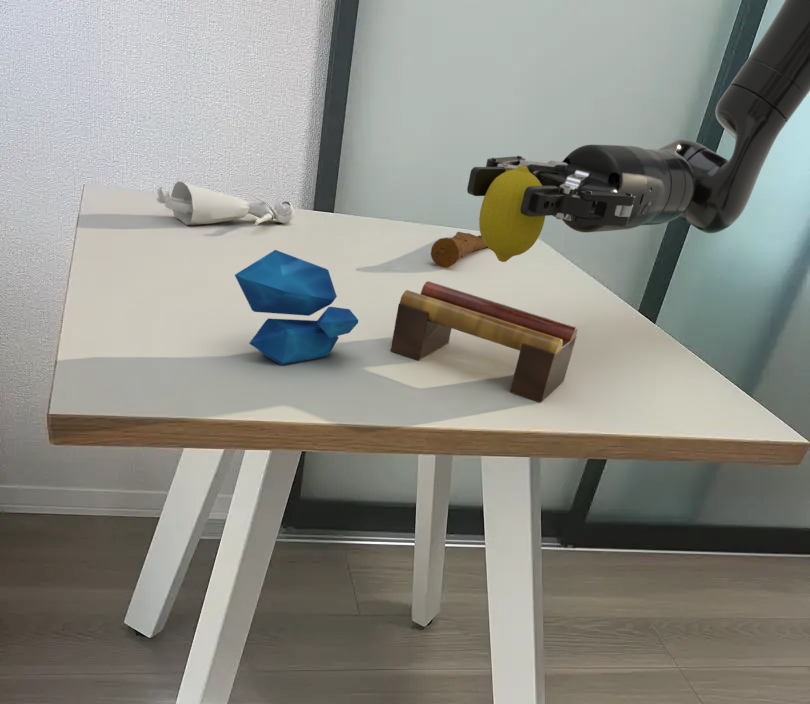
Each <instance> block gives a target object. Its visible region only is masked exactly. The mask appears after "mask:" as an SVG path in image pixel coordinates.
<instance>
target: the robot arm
mask: <svg viewBox="0 0 810 704" xmlns="http://www.w3.org/2000/svg"><path fill="white" fill-rule="evenodd" d="M809 93H810V0H784V2H783V3H782V5H781V7H780V9H779V11H778V12H777V14H776V15H775V16H774V19H773V20H772V21H771V24H770V25H769V26H768V28H767V30H766V32H765V33H764V34H763V36H762V38H761V39H760V41H759V42H758V44H757V45H756V47H754V49H753V50H752V52H751V54H750V55H749V56H748V58H747V59H746V61H745V62H744V63H743V65H742V66H741V68H740V69H739V71H738V72H737V73H736V75H735V77H734V78H733V80H732V81H731V82H730V84H729V85H728V87H727V88H726V90H725V91H724V92H723V94H722V96H721V97H720V99H719V100H718V102H717V104H716V106H715V111H714V113H715V118H716V120H717V121H718V123H719V124H720V125H721V127H723V129H724V130H725V131H726V132H727V133H728V134H730V135H731V137H733V139H734V140H735V141H734V147H733V150H732V151H733V152H732V154H731V156H730V157H729V159H727V158H725V157H723V156H722V155H720V154H719V153H717V152H715V151H713V150H711V149H710V148H708V147H707V146H705V145H703V144H701V143H700V142H697V141H694V140H689V139H686V138H685V139H684V138H679V139H676V140H673V141H671V142H669V143H668V144H666V145H663V146H662V147H660V148H658V149H656V148H655V149H652V148H643V147H639V146H635V145H633V146H632V145H616V144H615V145H613V144H585V145H581V146H579V147H577V148H575V149H574V150H572V151H571V152H570V153H569V154H568V155H567V156H565V158H564V159H563V160H561V161H558V160H549V161H548V162H541V161H533V160H527V159H526V158H525V157H523V156H522V155H516V156H503V157H502V156H501V157H490V158H487V160H486V164H485V166H474V167H473V168H472V169H470V173H469V178H468V183H467V188H466V192H467V194H468V195H471V196H474V197H485V194H486V192H487V190H488V188H489V186H490V185H491V183H492V182H493V181H494V180H495V179H496V178H497V177H498V176H499V175H501V174H502V173H504V172H506V171H509V170H514V169H516V168H517V167H519V166H525V167H527V168H528V170H529V172H530V173H531V174H533V175H534V176H535V177H536V178H537V179H538V180H539V181H540V183H541V185H542V186H529V187H527V188H526V190H525V192H524V196H523V200H522V205H521V210H520V211H521V214H523V215H526V216H529V217H532V216H545V217H549V216H552V217H555V219H556V220H562V222H563V223H564V224H565V225H566V226H567V227H568V228H570V229H572V230H573V231H576V232H579V233H599V232H611V231H612V232H613V231H625V230H630V229H634V228H637V227H641V226H652V225H661V224H666V223H669V222H672V221H674V220H676V219H678V218H680V219H682V220H683V221H685V222H686V223H688V224H689V225H690V226H692V227H694V228H695V229H698V230H699V231H700V232H703V233H705V234H716V233H717V234H718V233H719V232H721V231H724V230H725V229H727V228H729V227H731V225H733V224H734V223H735V222H736V221H737V220H738V219H739V218H740V216H741V215H742V214H743V212H744V211H745V209H746V206H748V205H747V204H748V202H749V201H750V198H751V195H752V193H753V191H754V188H755V185H756V182H757V180H758V177H759V175H760V172H761V171H762V168H763V166H764V165H765V162H766V159H767V158H768V155H769V154H770V151H771V149H772V147H773V145H774V143H775V141H776V140H777V138H778V136H779V134H780V133H781V131H782V130H783V129H784V127H785V126H786V124H787V123H788V121H789V120H790V119H791V118H792V117H793V115H794V113H795V112H796V110H797V109H798V108H799V107H800V106H801V104H802V102H803V101H804V100H805V98H806V97H807V96H808V94H809Z"/></svg>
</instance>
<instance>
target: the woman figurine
mask: <svg viewBox="0 0 810 704" xmlns="http://www.w3.org/2000/svg"><path fill="white" fill-rule="evenodd" d="M162 189H163V186H160V187H158V188H157V191H156V193H157V196H158V197H156V202H157V203H160V204H164V207H165V208H167V209H170V210H172V213H173V216H174V218H175V219H178V220H179V221H181V222H182V223H183V224H185V225H186V226H195V225H197V226H198V225H209V224H210V225H211V224H216V223H224V222H225V223H226V222H230V221H237V220H240V219H242V218H245V216H247V215H252V216H254V217H253V218H254V219H255V222H254V224H253V225H254V226H259V224H260V223H263V222H266V221H268V222H272V221H274V220H275V221H277V222H279V223H281V224H283V225H284V224H290V222H292V220H293V219H294V218H295V217H294V216H295V209H294V207H293V204H292V203H291V202H290V201H283V202H281V201H279V202H276V203H275V204H274V206H272V205H271V204H270V203H269V202H268V201H266V200H265V199H262V198H260V196H253V198H254V199H255V200H249V201H248V200H245V199H243V198H240V197H237V196H232V195H230V194H225V193H222V192H219V191H216V190H213V189H208V188H205V187H201V186H199V185H195V184H191V183H187V182H183V181H180V180H178V181H177V182H176V183H174V185H173V188H172V191H171V194H170V191H167V192H166V193H164V191H163V190H162Z"/></svg>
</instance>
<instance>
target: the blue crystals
mask: <svg viewBox="0 0 810 704" xmlns="http://www.w3.org/2000/svg"><path fill="white" fill-rule="evenodd" d="M234 277H235V279H236V281H237V283H238V285H239V286H240V289H241V291H242V293H243V296H244V297H245V298H246V301H247V304H248V305H249V307H250V310H251V311H252V312H254V313H264V314H265V313H266V314H278V315H294V316H304V317H305V316H307V317H308V316H309V317H310V316H312V315H314V314H316V313H318V312H319V311H321V310H322V309H324V308H326V309H325V310H324V312H323V313H322V314H321V315H320V316H319V318H317V320H312V319H311V320H310V319H289V318H267V319H265V321H264V322H263V324H262V325H261V327H260V328H259V329H258V331H257V332H256V333H255V335H254V336H253V337H252V339H251V340H250V341H249V345H251V346H252V347H253V348H255V349H256V350H258V351H259V352H260V353H262V354H263V355H264V356H266V357H267V358H268V359H270V360H272V361H274V362H275V363H277V364H278V365H279V366H282V365H288V364H293V363H299V362H305V361H309V360H310V361H311V360H315V359H316V360H317V359H322V358H327V357H328V356H330V354H331V353H332V350H333V349H334V347H335V345H336V344H337V342H338V340H339V337H340V336H342V335H346V334H350V333H351V332H352V330H353V329H354V328H355V327H357V325H358V324H359V319H358V317H356V315H355V314H354V312H353V311H352V310H351V309H350V308H344V307H337V306H330V305H332V304H333V302H334V301H335V300H336V298H338V296H337V292H336V290H335V286H334V283H333V281H332V278H331V273H330V271H329V269H327V268H326V267H323V266H321V265H317V264H315V263H312V262H309V261H307V260H304V259H301V258H298V257H296V256H293V255H290V254H288V253H286V252H283V251H280V250H277V249H274V250H273V251H271V252H269V253H268V254H266V255H264V256H262V257H261V258H259V259H257V260H256V261H254V262H253V263H251V264H250V265H248V266H246V267H245V268H243V269H241V270H240V271H239V272H237V273H235V274H234Z"/></svg>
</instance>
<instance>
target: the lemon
mask: <svg viewBox="0 0 810 704" xmlns="http://www.w3.org/2000/svg"><path fill="white" fill-rule="evenodd" d="M529 186H542V185H541V183H540V181H539V180H538V179H537V178H536V177H535V176H534V175H533V174H531V173H530V172H529V170H528V168H527V167H525V166H519V167H517V168H516V169H514V170H509V171H506V172H504V173H502V174H501V175H499V176H498V177H497V178H496V179H495V180H494V181H493V182H492V183H491V185H490V186H489V188H488V190H487V192H486V194H485V196H483V198H482V199H483V200H482V203H481V207H480V209H479V210H480V211H479V217H478V226H479V227H478V228H479V233H480V235H481V236H482V239H483V241H484V242H485V244H486V245H487V247H486V248H488V249H489V250H491V251H492V252H493V253H494V254H495V256H496V258H497V260H498V261H499V262H501V263H506V262H507V261H509V260H510V259H511V258H513V257H516V256H520V255H522V254H524V253H526V252H527V251H529V250H530V249H531V248H532V247H533V246H534V245H535V244H536V242H537V240H538V238H539V237H540V235H541V233H542V230H543V228H544V225H545V220H546V216H532V217H529V216H526V215H523V214H521V211H520V210H521V205H522V200H523V196H524V192H525V190H526V188H527V187H529Z"/></svg>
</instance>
